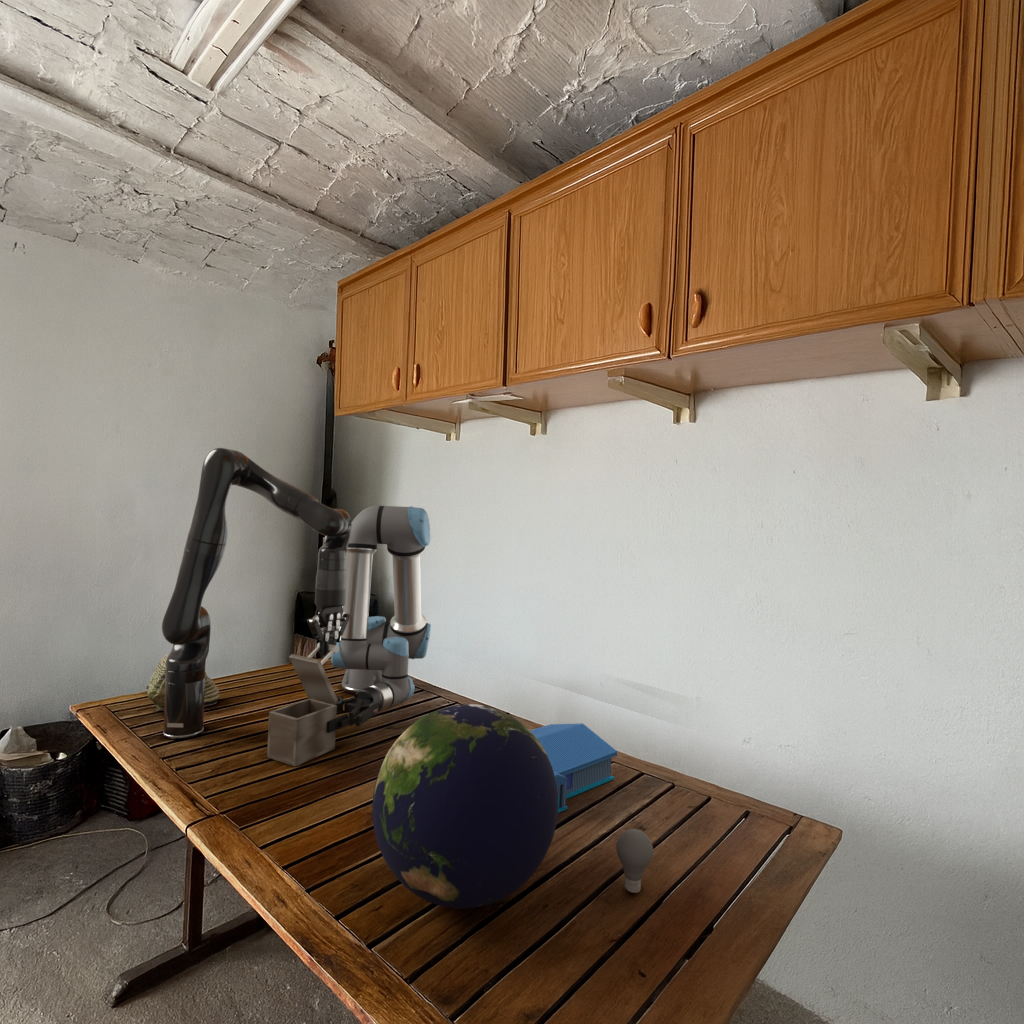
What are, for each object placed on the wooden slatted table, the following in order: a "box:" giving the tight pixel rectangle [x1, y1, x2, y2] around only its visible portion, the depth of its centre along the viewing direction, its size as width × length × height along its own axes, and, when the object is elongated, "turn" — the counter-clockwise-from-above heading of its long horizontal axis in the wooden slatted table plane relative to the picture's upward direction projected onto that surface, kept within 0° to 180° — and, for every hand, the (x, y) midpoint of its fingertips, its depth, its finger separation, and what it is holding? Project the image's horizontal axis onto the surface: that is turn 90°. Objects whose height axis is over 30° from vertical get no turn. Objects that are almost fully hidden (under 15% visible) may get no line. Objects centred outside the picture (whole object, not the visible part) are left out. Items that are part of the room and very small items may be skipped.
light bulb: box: [615, 828, 654, 894], centre depth 106 cm, size 6×6×10 cm
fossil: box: [147, 654, 221, 712], centre depth 185 cm, size 9×18×15 cm, turn 132°
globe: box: [371, 703, 559, 910], centre depth 103 cm, size 30×30×30 cm
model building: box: [529, 722, 618, 814], centre depth 142 cm, size 39×24×10 cm, turn 132°
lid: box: [288, 641, 339, 704], centre depth 161 cm, size 14×10×9 cm
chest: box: [266, 697, 337, 767], centre depth 156 cm, size 13×10×11 cm
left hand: (327, 654), depth 162 cm, fingers closed on lid, 2 cm apart
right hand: (312, 722), depth 159 cm, fingers closed on chest, 9 cm apart
